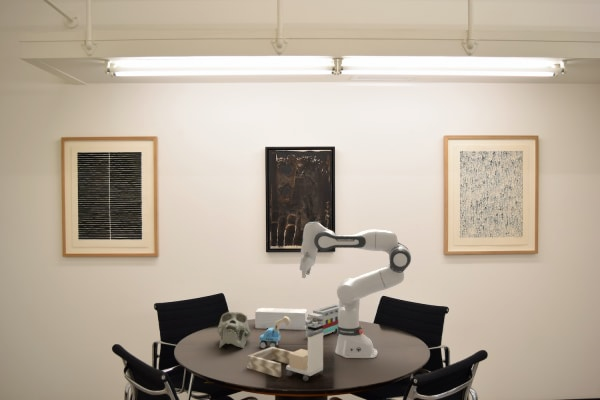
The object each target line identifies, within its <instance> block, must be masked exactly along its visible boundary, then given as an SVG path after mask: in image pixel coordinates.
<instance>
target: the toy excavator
mask: <svg viewBox="0 0 600 400" xmlns="http://www.w3.org/2000/svg"><path fill="white" fill-rule="evenodd" d="M284 322H285V323H286V326H288V325H289V324H290V319H289V318H288V317H287V316H285V317H283V319H281V320H279V321H277V322H276V323H275V328H269V329H266V330H265V331H264V333H263V334H261V335H259V340H260V342H259V347H260V348H261V349H267V348H269V347H275V348H278V346H279V344H280V340H281V337H282V336H281V332H280V329H279V325H281V324H282V323H284Z"/></svg>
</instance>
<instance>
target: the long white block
mask: <svg viewBox="0 0 600 400" xmlns="http://www.w3.org/2000/svg"><path fill="white" fill-rule="evenodd" d="M254 313H255V315H254V316H255V317H254V320H255V321H254V327H255V329H266V330H267V328H268V329H269V328H275V323H276V322H277V321H279V320H281V319H283V317H285V316H287V317H288V318H289V319H290V324H289V325H288V326H286V323H285V322H284V323H282V324H281V325H279V330H296V331H297V330H300V331H305V330H306V329H307V328H308V326H305V321H307V320H308V309H307V308H282V307H281V308H280V307H278V308H277V307H276V308H275V307H258V308H257V309H256V310H255V311H254Z"/></svg>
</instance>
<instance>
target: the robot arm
mask: <svg viewBox="0 0 600 400" xmlns="http://www.w3.org/2000/svg"><path fill="white" fill-rule="evenodd" d="M301 243H302V244H301V248H300V254H302V256H301V259H300V264H299V270H300V271H301V278H302V279H305V278H307V277H306V276H309V275H310V274H311V271H312V267H314V265H315V263H316V259H317V256H318V252H319V251H321V252H327V251H329V250H333V249H337V248H338V249H341V248H342V249H345V248H346V249H347V248H348V249H359V250H363V251H372V252H384V253H387V254H388V256H389V257H388V259H389V264H388V265H386V266H385V267H382V268H378V269H375V270H372V271H369V272H366V273H364V274H361V275H358V276H357V277H354V278H353V277H347V278H344V279H343V280H342V281H341V282H340V284H339V285H338V286H337V289H336V294H337V298H338V300H339V301H338V305H339V310H338V327H337V333H336V335H337V341H336V347H335V351H334V353H335V354H336V355H338V356H341V357H343V358H346V359H375V358H376V357H377V356H378V350H377V349H376V348H374V344H373V342H372V340H371V339H370V338H369V337H368V336H367V335H365V334H364V328H363V326H361V325H360V303H361V302H360V299H363V298H365V297H366V298H367V296H370V295H372V294H375V293H378V292H382V291H385V290H388V289H391V288H393V287H395V286H398V285H400V284H401V283H403V282H404V279H405V273H404V272H405V270H407V268H408V267H409V266H410V264H411V262H412V254H411V252H410V250H409V248H407V246H406V245H404V244H402V243H400V242H399V241H398V236H397V235H396V233H395V232H394V231H390V230H385V229H384V230H383V229H368V230H362V231H360V232H359V233H356V234H352V235H351V234H350V235H337V234H336V233H335V231H333V230H331V229H328V228H326V227H325V226H323V225H322V224H321V223H320V222H318V221H309V222H307V223H306V224H305V225H304V228H303V233H302V242H301Z"/></svg>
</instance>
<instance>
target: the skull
mask: <svg viewBox="0 0 600 400" xmlns="http://www.w3.org/2000/svg"><path fill="white" fill-rule="evenodd" d="M217 333H218V335H219V337H220V339H219V340H220V341H219V349H222V347H223V346H224V345H225V344H227V345H229V344H231V345H233V346H235V347H238V348H241V349H244V348H245V347H246V343H247V340H248V339H249V337H250V336H251V334H252V332H251V330H250V324H249V322H248V315H247V314H244V313H242V312H239V311H235V312H233V311H226V312H225V313H223V314H222V315H221V317H220V319H219V324H218V326H217Z"/></svg>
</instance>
